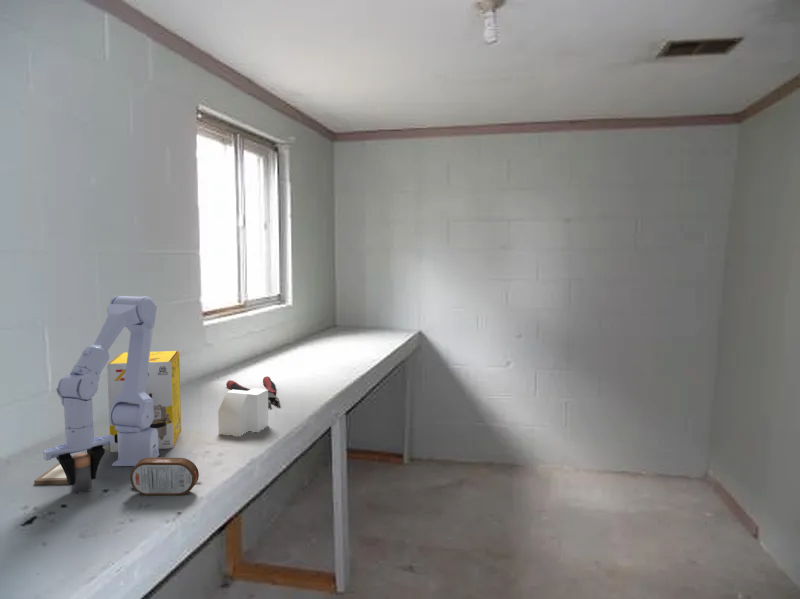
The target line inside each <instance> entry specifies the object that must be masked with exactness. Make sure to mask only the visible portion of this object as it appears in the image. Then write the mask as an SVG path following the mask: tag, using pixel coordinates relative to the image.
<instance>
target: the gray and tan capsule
mask: <svg viewBox="0 0 800 599" xmlns="http://www.w3.org/2000/svg"><path fill="white" fill-rule="evenodd" d="M72 458H73V459H74V467H73V474H74V485H72V486H71V488H72V491H73V492H75V493H74V494H80V493H79V492H83V493H86V492H85V491H87V492H89V491H90V490H89V489H91V488H93V484H92V483H93V482H92V478H91V455H90V454H88V453H87V452H84V453H83V452H82V453H78V454H74V455H72ZM88 490H89V491H88ZM91 490H92V489H91ZM72 491H71V492H72ZM73 492H72V493H73Z"/></svg>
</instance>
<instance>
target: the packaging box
mask: <svg viewBox="0 0 800 599" xmlns="http://www.w3.org/2000/svg"><path fill="white" fill-rule="evenodd" d="M127 357H128V352H121V353H120V354H118V355H117V356H116V357H114V358H113V359H111V360H110V361H109V362H107V363H106V366H107V367H106V369H107V370H106V372H107V374H106V375H107V393H108V394H107V395H108V396H107V398H108V414H109V413H110V410H111V408H112V406H113V403H114V398H115V397H116V396H118V395H119V394H120V393H122V392H123V388H124V380H125V372H126V365H127ZM180 368H181V367H180V351H179V350H167V351H166V350H165V351H164V350H163V351H150V357H149V365H148V373H147V381H146V389H145V392H146V393H147V394H148V395H149V396H150V397H151V398H152V399H153V400H154V402H153V409H154V420H153V422H152V423H151V425H150V428H156V429H157V431H158V447H159V450H163V449H174V447H175V444H176V443H177V440H178V438H179V435H180V434H181V431H182V414H181V413H182V412H181V411H182V410H181V409H182V408H181V406H182V405H181V376H180V375H181V374H180V372H181V370H180ZM128 403H131V404H138V403H134V402H128ZM108 422H109V423H108V424H109V435H112V436H114V440H115V444H113V445H109V446H110V447H109V448H110V453H118V436H117V430H115V426H113V425H112V424H111V423H110V420H109V421H108Z"/></svg>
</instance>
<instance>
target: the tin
mask: <svg viewBox="0 0 800 599" xmlns="http://www.w3.org/2000/svg"><path fill="white" fill-rule="evenodd" d="M199 477H200V473H199V470H198V468H197V465H196V463H194V462H193V461H192V460H190V459H188V458H185V457H148V458H144V459H142V460H140V461H139V462H138V463H137V464H136V466H133V468H132V469H131V471H130V476H129V480H130V484H131V486H132V488H133V489H134V490H135V491H136V492H138V493H139V494H141V495H145V496H182V495H186V494H187V493H189V492H191V491H192V490H193V488H194V487H195V486H196V485H197V483H198V481H199Z"/></svg>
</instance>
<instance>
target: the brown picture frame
mask: <svg viewBox="0 0 800 599" xmlns="http://www.w3.org/2000/svg"><path fill="white" fill-rule="evenodd" d="M33 481H34V482H33V483H34V486H35V485H36V486H37V485H38V486H39V485H40V486H42V485H44V486H45V485H69V484H68V481H67V478H66V475H65V472H64V470H63V468H62V466H61V464H60V463H59V462H58V463H57V464H55V465H54V466H52V467H51V468H50V469H48V470H47V471H45V472H44V473H43V474H41V475H40V476H39V477H37V478H36V479H34V480H33Z"/></svg>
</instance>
